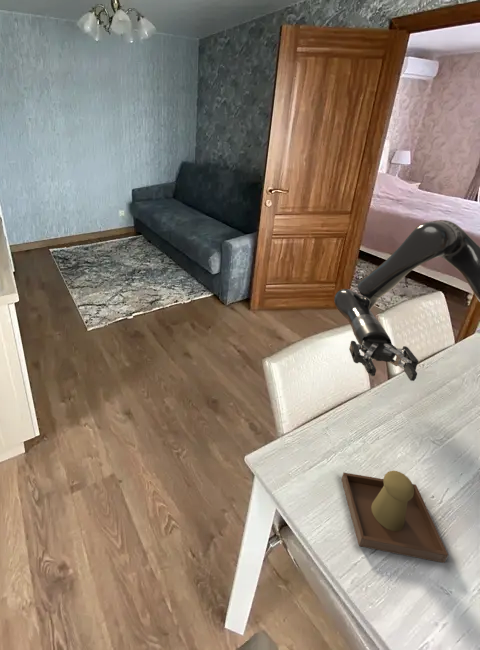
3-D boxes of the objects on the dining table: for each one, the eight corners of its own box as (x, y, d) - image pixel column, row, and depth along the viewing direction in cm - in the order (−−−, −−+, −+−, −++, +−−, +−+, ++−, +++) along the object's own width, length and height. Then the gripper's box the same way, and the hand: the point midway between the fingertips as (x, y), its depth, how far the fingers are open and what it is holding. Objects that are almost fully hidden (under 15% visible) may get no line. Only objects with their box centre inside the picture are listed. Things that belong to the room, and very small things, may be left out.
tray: (413, 491, 77) (416, 484, 76) (444, 563, 65) (448, 555, 64) (341, 479, 80) (343, 472, 79) (358, 546, 68) (361, 538, 67)
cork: (366, 512, 73) (378, 477, 69) (378, 493, 76) (390, 459, 72) (397, 538, 68) (412, 502, 64) (408, 516, 72) (423, 481, 68)
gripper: (344, 319, 95) (364, 359, 80) (401, 325, 92) (431, 366, 78) (340, 342, 97) (357, 384, 83) (394, 347, 95) (422, 392, 80)
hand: (393, 375), depth 80 cm, fingers open, 8 cm apart
